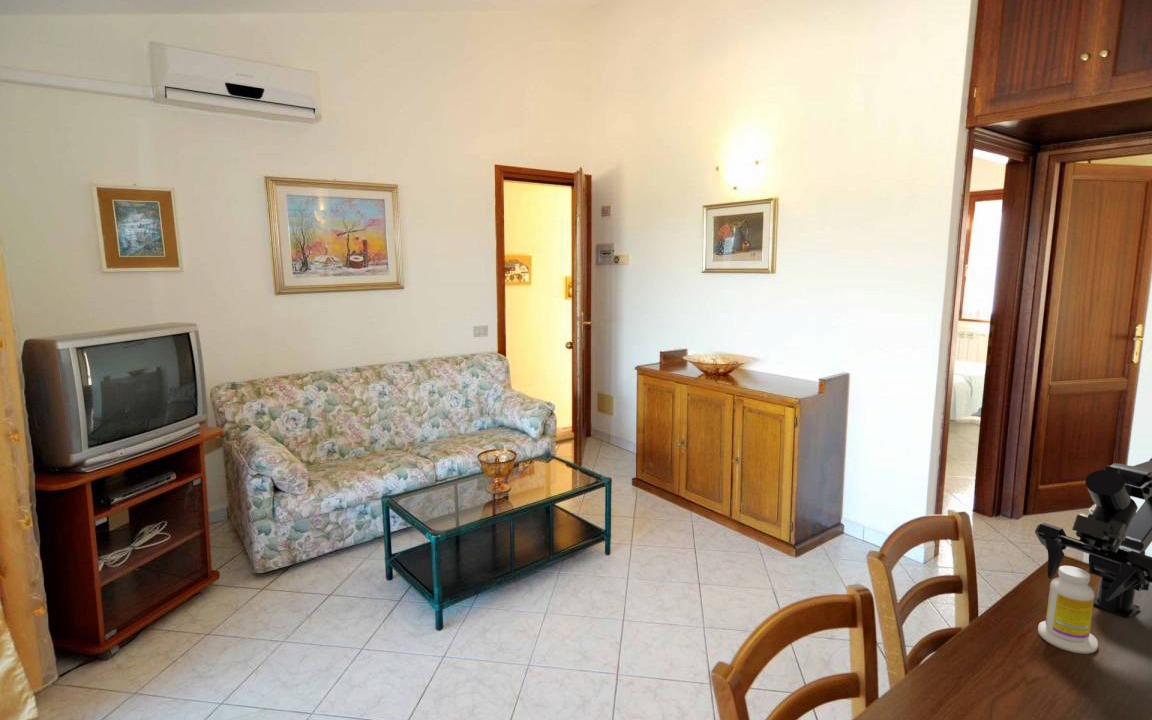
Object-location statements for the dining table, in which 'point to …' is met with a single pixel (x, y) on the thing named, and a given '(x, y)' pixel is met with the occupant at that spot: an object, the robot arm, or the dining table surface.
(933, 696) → the dining table surface
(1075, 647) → the coaster
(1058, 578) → the supplement bottle
